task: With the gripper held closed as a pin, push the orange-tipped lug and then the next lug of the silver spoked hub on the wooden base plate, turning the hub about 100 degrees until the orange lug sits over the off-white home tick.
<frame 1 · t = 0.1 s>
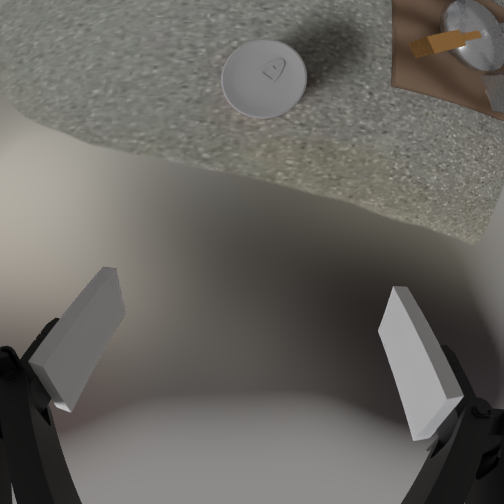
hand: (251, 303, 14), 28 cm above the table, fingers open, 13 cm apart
wooden base plate: (454, 39, 27), on the table
canned food: (266, 85, 34), on the table
silver spoked hub: (480, 33, 21), point 7 cm above the table, hinge at 0.0°
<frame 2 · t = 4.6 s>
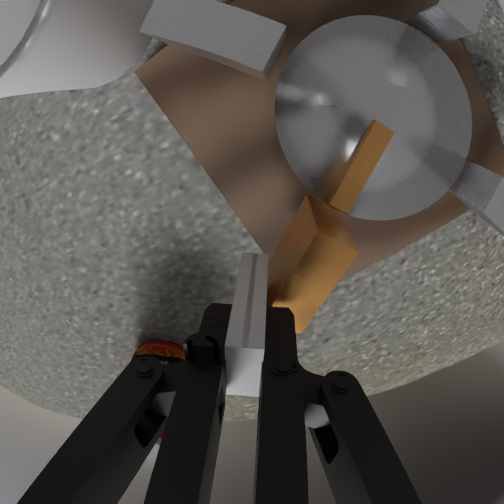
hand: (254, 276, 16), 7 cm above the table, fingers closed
wooden base plate: (351, 111, 18), on the table
mug: (100, 13, 15), on the table
canned food: (169, 363, 30), on the table
silver spoked hub: (386, 118, 12), point 7 cm above the table, hinge at 2.3°, touching gripper
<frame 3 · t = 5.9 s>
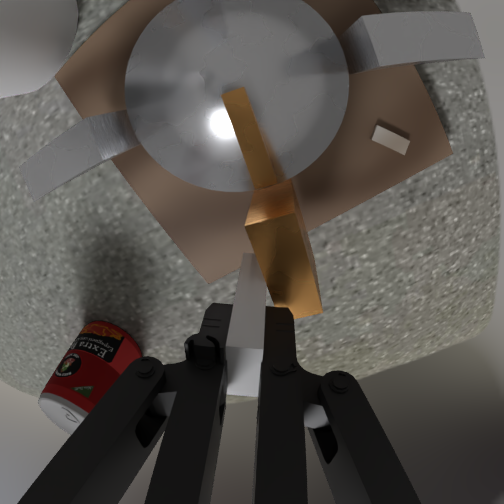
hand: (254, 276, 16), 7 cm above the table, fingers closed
wooden base plate: (247, 87, 17), on the table
mug: (36, 26, 15), on the table
canned food: (113, 344, 30), on the table
silver spoked hub: (230, 82, 11), point 7 cm above the table, hinge at 45.5°, touching gripper
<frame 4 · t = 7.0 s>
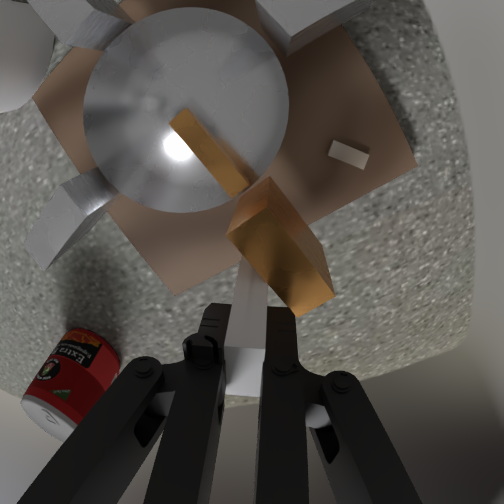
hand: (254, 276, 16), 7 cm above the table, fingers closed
wooden base plate: (206, 106, 18), on the table
mug: (17, 46, 15), on the table
canned food: (93, 351, 31), on the table
silver spoked hub: (173, 108, 12), point 7 cm above the table, hinge at 65.2°, touching gripper
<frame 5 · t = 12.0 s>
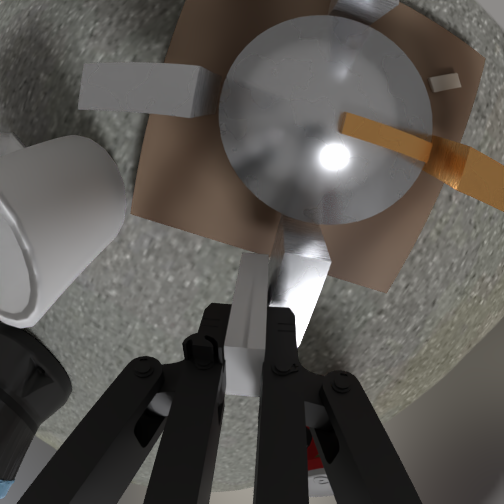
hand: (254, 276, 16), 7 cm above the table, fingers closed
wooden base plate: (314, 114, 18), on the table
mug: (68, 184, 22), on the table
canned food: (320, 398, 31), on the table
silver spoked hub: (333, 119, 12), point 7 cm above the table, hinge at 66.2°, touching gripper
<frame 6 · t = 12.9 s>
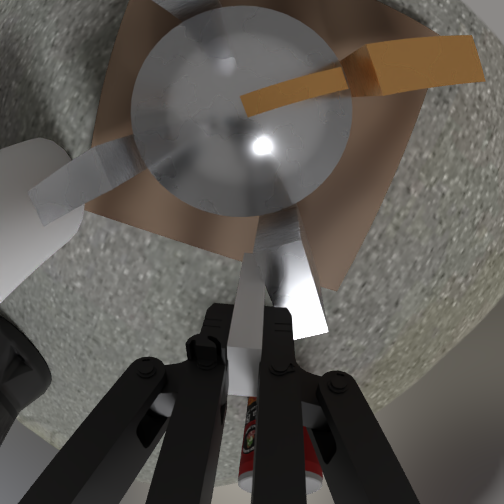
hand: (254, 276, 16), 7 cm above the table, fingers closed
wooden base plate: (250, 107, 18), on the table
mug: (36, 183, 22), on the table
canned food: (283, 397, 31), on the table
silver spoked hub: (235, 109, 12), point 7 cm above the table, hinge at 97.5°, touching gripper
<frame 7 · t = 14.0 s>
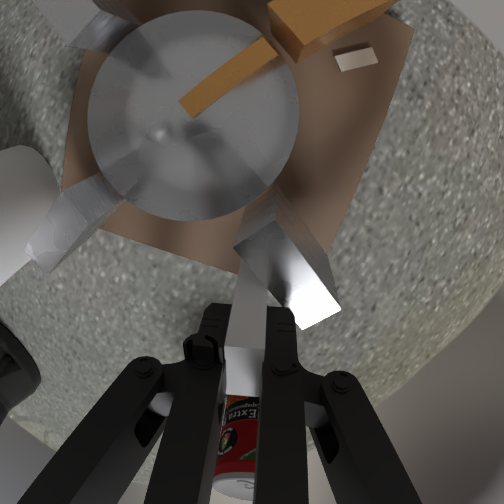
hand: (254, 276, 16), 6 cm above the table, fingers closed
wooden base plate: (213, 111, 18), on the table
mug: (19, 188, 22), on the table
canned food: (263, 400, 31), on the table
silver spoked hub: (180, 115, 12), point 7 cm above the table, hinge at 114.6°, touching gripper
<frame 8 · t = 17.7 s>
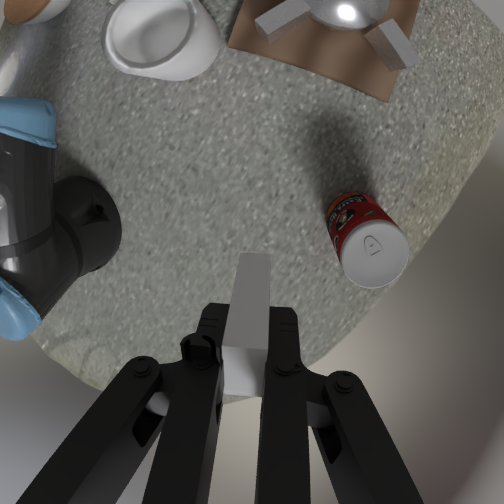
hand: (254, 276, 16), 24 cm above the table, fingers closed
wooden base plate: (332, 5, 27), on the table
mug: (175, 37, 30), on the table
canned food: (352, 218, 40), on the table
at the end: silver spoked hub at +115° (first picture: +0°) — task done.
